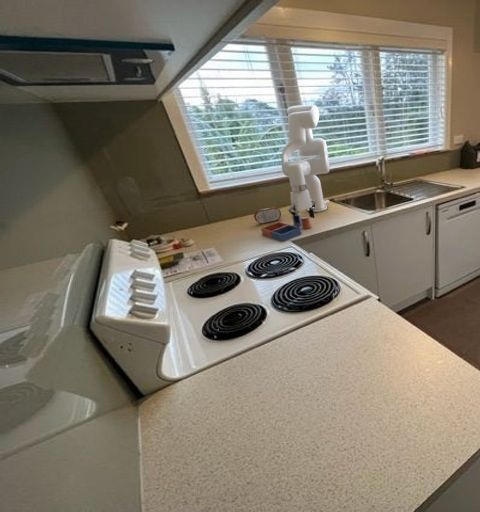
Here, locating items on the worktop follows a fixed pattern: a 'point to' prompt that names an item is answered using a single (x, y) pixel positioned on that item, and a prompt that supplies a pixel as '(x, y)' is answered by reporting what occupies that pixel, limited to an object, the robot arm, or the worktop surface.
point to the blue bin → (286, 232)
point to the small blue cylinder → (295, 222)
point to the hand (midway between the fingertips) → (305, 219)
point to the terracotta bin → (272, 228)
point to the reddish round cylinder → (305, 222)
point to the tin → (267, 215)
